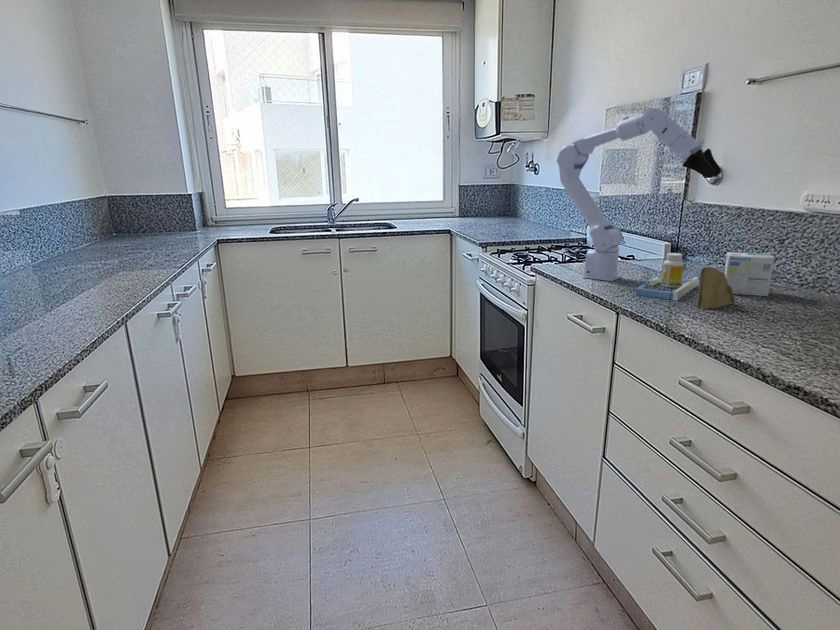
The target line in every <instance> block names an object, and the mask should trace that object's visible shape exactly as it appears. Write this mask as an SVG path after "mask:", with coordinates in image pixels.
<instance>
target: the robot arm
mask: <svg viewBox="0 0 840 630" xmlns="http://www.w3.org/2000/svg"><path fill="white" fill-rule="evenodd" d="M648 132H652V133H653V134H654V135H655V136H656V137H657V139H658V140H660V142H661V143H663V144H664V146H666V147H667V148H668V149H669V150H670V151H671V152H672V153H673V154H675V155H676V157H677V158H679V159H680V161H681V162H682V165H681V166H682V167H684V168H687V169H690V170H692V171H694V172H696V173H698V174H700V175H701V176H703V177H705V178H707V179H710V178H711V177H714V178H715V177H718V176H719V175H720V174H721V173H722V171H723V170H722V168H721V167H720V166H719V164H718V163H717V161H716V160H715V158H714V156H713V154H712V150H711V149H710V148H707V149H706V150H705V151H703V149H702V147H703V146H702V145H703V144H704V143H705V140H704V139H701V140H700V141H698V140H696V139H695V138H694V137H692V135H691V134H689V132H687V130H685V129H684V128H683V127H682V126H681V125H679V124H678V123H677V122H676V121H674V120H673V119H672V118H671V117H669V113H668V112H667V111H666V110H664V109H662V108H661V109H660V108H656V107H655V108H654V107H653V108H650V109H649V108H648V110H641V112H640V113H639V114H636V115H634V116H631V117H630V116H624V117H623V118H622V120H620V121H618V123H617V124H616V126H615V127H612V128H610V129H606V130H604V131H601V132H598V133H594V134H591V135H588V136H585V137H583V138H580V139H578V140H574V141H573V142H571V143H570V144H566V145H564V146H563V147H561V148H560V150H559V152H558V155H557V158H556V162H557V165H558V171H559V179H560V183H561V185H562V187H563V188H564V190H565V191H566V193H568V196H569V197H570V199H571V200H572V202H573V203H574V205H575V206H576V208H577V210H578V211H579V213H580V214H581V216H582V217H583V219H584V220H585V222H586V223H587V225H588V226H589V235H590V236H591V239H592V241H591V242H592V245H593V247H594V248H593V249H592V248H591V249H588V250H587V252H586V255H585V260H584V273H583V274H584V275H583V276H582V277H583V278H584V279H585V278H587V279H592V280H600V281H601V280H602V281H609V282H613V281H615V280H617V279H619V278H621V277H622V275H621V274H617V273H618V263H619V255H620V254H619V253H620V248H619V245H621V244H622V241H623V238H624V235H623V233H622V231H621V229H619V228H617V227H616V226H614V225H613V223H612V222H611V221H610V220H608V219H607V218H606V217H605V215H604V214H603V213H602V211H601V210H600V208H599V206H598V205H597V203H596V202H595V200H594V199H593V197H592V196H591V194H590V192H589V191H588V190H587V188H586V187H585V185H584V183H583V182H582V181H581V179H580V175H581V172H582V170H583V169H584V167H585V165H586V163H587V162H588V160H589V157H590V154H591V155H592V154H593V152H594V150H595V148H596V147H599V146H601V145H604V144H607V143H610V142H612V141H615V140H617V139H620V140H622V141H628V140H631V139H634V138H636V137H639V136H643V135H645V134H647V133H648Z"/></svg>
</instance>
